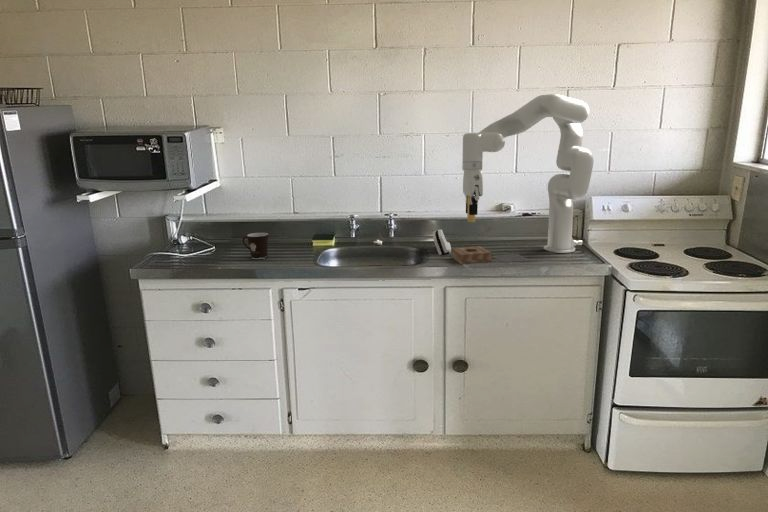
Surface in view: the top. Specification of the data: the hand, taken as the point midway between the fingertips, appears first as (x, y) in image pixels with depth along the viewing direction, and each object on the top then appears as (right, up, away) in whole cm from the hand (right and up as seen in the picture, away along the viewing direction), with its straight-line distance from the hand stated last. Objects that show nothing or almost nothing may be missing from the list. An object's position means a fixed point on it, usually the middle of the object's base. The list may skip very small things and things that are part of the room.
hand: (471, 213), depth 220 cm
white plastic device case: (-9, -14, +23) cm, 29 cm away
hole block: (+1, -18, +4) cm, 19 cm away
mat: (+16, -18, +4) cm, 24 cm away
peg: (0, -3, +1) cm, 3 cm away
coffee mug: (-87, -17, +18) cm, 90 cm away
